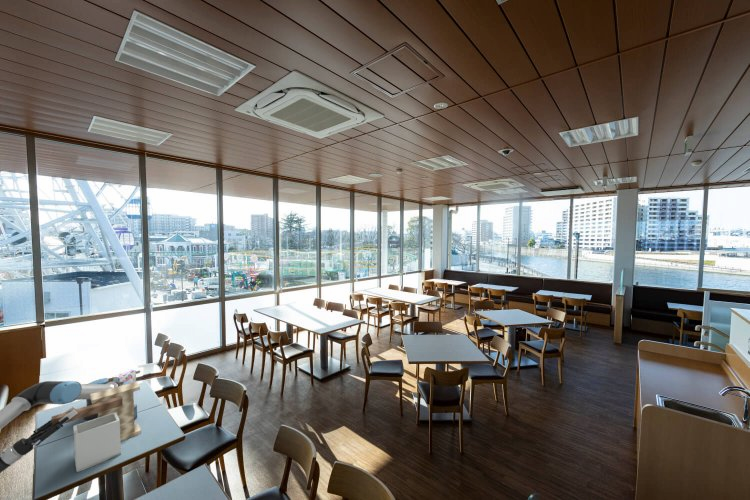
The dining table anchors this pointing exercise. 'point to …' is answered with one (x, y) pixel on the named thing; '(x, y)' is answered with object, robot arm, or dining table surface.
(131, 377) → the candy box
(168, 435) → the dining table surface
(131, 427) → the birch pedestal
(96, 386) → the robot arm
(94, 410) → the walnut block
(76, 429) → the white open box
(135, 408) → the flask
